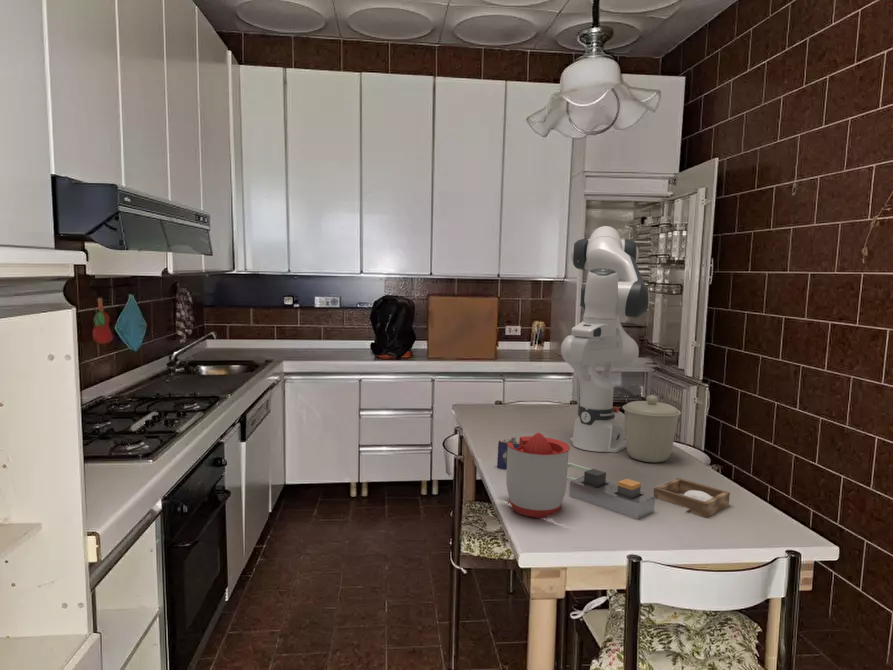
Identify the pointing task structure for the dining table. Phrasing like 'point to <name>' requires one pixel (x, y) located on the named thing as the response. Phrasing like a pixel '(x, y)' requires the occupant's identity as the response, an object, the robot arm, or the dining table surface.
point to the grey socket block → (612, 499)
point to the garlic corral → (695, 506)
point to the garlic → (698, 495)
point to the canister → (650, 429)
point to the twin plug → (595, 478)
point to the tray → (576, 468)
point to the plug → (629, 489)
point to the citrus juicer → (536, 475)
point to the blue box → (504, 451)
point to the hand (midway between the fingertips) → (596, 379)
